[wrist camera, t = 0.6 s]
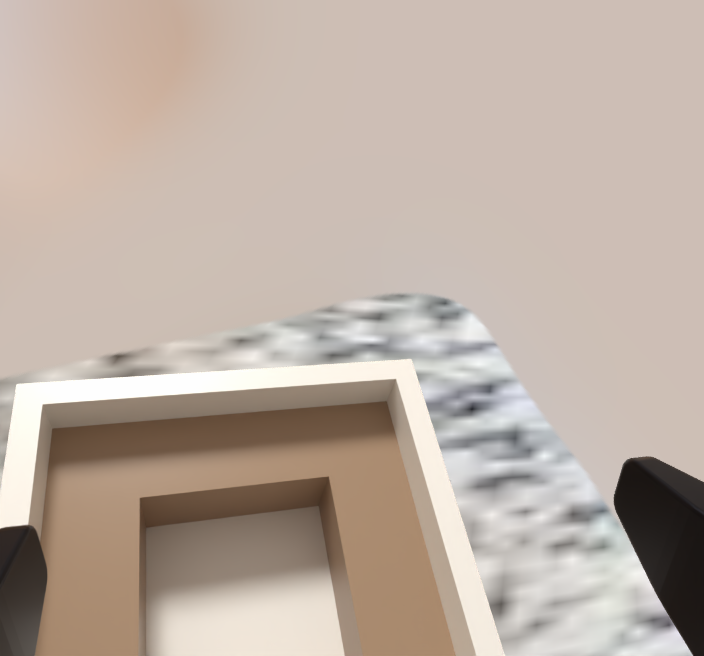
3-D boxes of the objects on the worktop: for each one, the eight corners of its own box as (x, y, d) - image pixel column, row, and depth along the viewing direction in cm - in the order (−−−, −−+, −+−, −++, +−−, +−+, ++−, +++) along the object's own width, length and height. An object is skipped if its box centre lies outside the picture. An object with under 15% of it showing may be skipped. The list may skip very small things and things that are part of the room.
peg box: (479, 805, 18) (550, 801, 15) (-1, 939, 15) (-75, 980, 11) (381, 427, 26) (411, 358, 22) (49, 458, 23) (16, 384, 19)
